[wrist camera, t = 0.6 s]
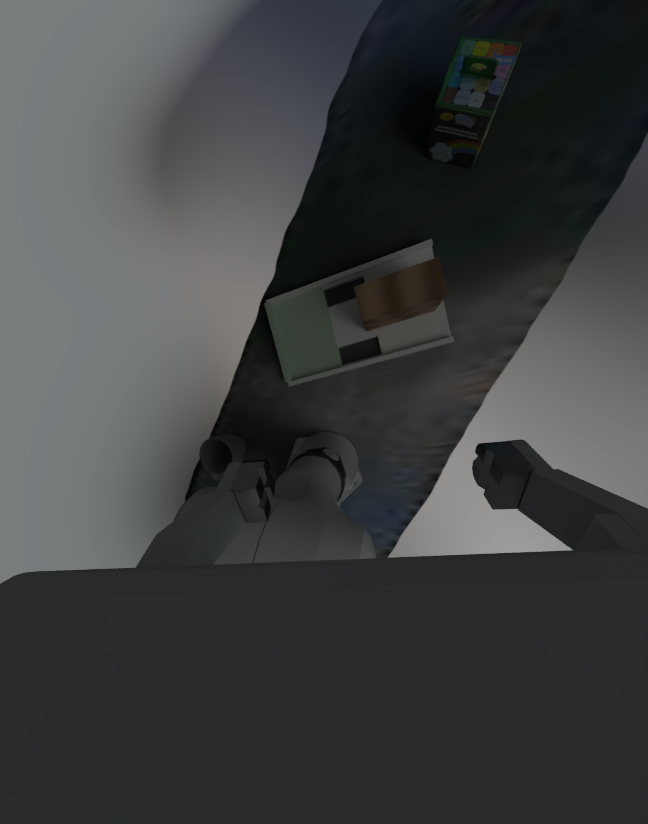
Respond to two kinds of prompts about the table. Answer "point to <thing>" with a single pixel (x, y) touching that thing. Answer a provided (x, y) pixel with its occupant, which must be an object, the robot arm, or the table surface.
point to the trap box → (348, 323)
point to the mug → (221, 453)
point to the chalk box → (470, 98)
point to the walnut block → (401, 294)
